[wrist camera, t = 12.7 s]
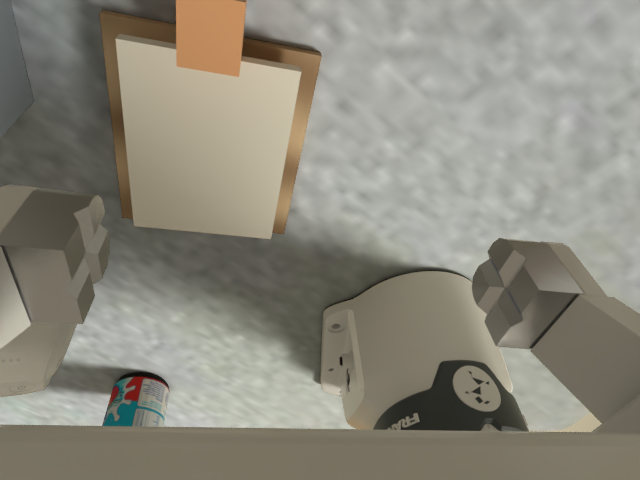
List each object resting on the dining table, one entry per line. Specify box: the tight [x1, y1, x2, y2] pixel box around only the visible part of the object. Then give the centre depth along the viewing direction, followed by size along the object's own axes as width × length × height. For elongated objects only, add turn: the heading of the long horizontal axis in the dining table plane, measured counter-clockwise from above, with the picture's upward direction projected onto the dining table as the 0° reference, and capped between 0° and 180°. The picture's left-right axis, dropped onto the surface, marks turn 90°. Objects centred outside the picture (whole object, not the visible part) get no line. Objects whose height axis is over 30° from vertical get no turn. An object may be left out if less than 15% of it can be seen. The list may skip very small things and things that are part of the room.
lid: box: [116, 0, 301, 239], centre depth 25 cm, size 16×10×4 cm, turn 168°
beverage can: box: [102, 373, 169, 427], centre depth 42 cm, size 6×6×15 cm
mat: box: [99, 10, 322, 234], centre depth 28 cm, size 14×12×1 cm
